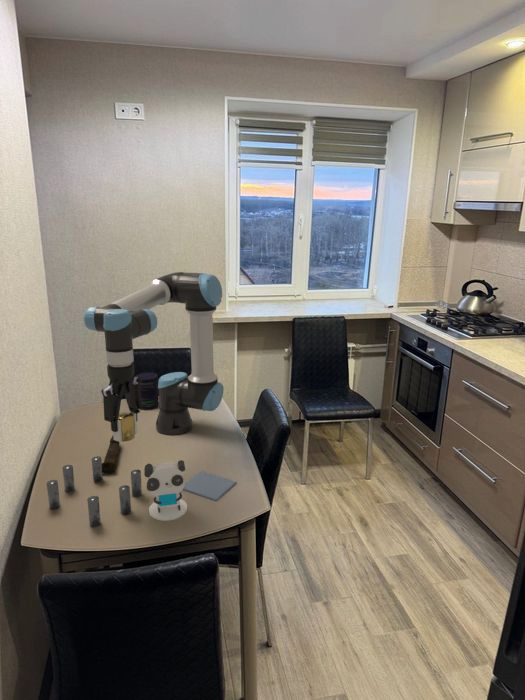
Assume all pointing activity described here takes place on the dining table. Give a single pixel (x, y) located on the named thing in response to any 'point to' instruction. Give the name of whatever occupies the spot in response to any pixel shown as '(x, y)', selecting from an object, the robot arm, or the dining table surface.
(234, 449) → the dining table surface
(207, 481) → the slate board
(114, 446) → the hand tool
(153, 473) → the panda figurine
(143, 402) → the storage jar
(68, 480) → the spacer posts
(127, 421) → the gold metal cylinder
